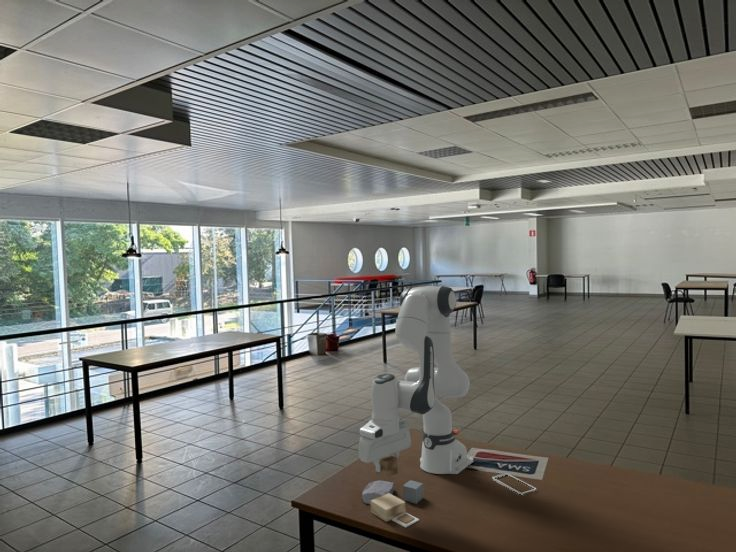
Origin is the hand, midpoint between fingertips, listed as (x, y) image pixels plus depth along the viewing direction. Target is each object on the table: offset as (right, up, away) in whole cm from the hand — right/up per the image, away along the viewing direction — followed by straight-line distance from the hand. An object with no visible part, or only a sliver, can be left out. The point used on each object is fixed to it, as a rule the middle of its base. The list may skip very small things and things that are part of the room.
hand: (386, 468), depth 158 cm
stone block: (-3, -15, +11) cm, 18 cm away
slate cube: (+9, -14, +8) cm, 19 cm away
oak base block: (0, -15, 0) cm, 15 cm away
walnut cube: (0, -2, 0) cm, 2 cm away
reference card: (+6, -14, -6) cm, 16 cm away
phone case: (+46, -13, +17) cm, 51 cm away
